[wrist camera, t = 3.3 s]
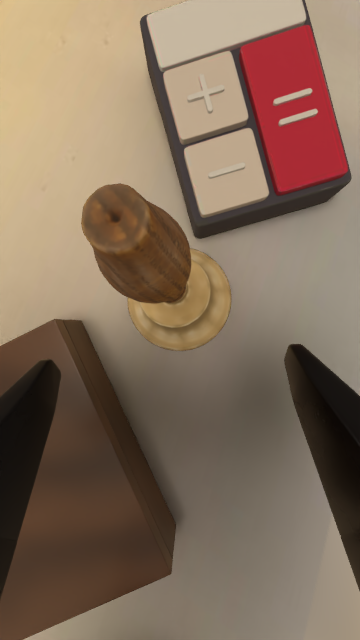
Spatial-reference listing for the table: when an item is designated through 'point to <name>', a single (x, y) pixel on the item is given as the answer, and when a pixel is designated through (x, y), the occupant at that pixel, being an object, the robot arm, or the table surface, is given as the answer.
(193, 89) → the calculator
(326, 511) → the table surface
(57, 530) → the shelf
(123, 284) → the hand bell
